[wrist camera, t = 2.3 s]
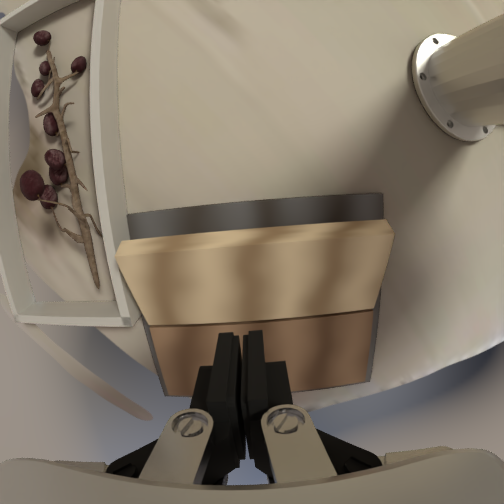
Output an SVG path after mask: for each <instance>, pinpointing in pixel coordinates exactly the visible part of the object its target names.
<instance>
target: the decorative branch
mask: <svg viewBox="0 0 504 504" xmlns="http://www.w3.org/2000/svg"><path fill="white" fill-rule="evenodd" d="M33 39H34V41H35V43H36V44H37V45H40V46H44V45H46V44H48V43H49V42H50V40H51V34H50V33H49V32H48V31H44V30H41V31H38V32H36V33H35V34H34V37H33ZM49 47H50V43H49ZM46 54H47V58H48V61H44V62H42V63H41V65H40V67H39V71H40V73H41V74H42V75H44V76H47V75H49V77H48V82H47V84H46V85H45V86H44V83H43V81H42V80H40V79H37V80H35V81H34V83H33V84H32V87H31V93H32V95H33V96H34V97H38V99H39V98H40V97H41V95H42V94H43V93H44V91H45V90H46V89H47V87H48V86H49V85H50V84H51V83H52V82H53V81H54V96H53V104H52V105H51V106H50V107H49V108H47V109H46V110H44V111H42V112H41V113H39V114H38V115H37V116H36V117H35V118H37V117H39V116H42V115H44V114H46V113H47V114H46V115H45V117H44V121H43V125H44V130H45V132H46V133H47V134H48V135H50V136H55V135H56V137H58V136H59V135H60V136H61V141H62V147H63V151H64V153H63V152H62V151H60V150H56V149H50V150H48V151H47V152H46V153H45V161H46V163H47V164H48V165H49V166H50V168H49V176H50V179H51V181H52V182H53V184H55V185H61V188H66V187H68V188H69V189H70V191H71V193H72V206H73V209H74V210H73V209H72V208H71V207H69V206H67V205H65V204H62V203H58V202H57V193H56V191H55V189H54V188H53V187H52V186H51V185H44V181H43V179H42V177H41V175H40V174H39V173H37V172H36V171H34V170H28V171H26V172H25V173H24V174H23V175H22V176H21V178H20V188H21V191H22V193H23V195H24V196H25V197H26V198H27V199H28V200H31V201H34V200H39V201H40V202H41V204H42V206H43V207H44V208H46V209H51V208H52V211H53V207H54V206H55V205H56V204H59V205H63V206H65V207H68V210H70V211H71V212H72V213H73V214H74V215H75V216H76V217H77V218H78V221H79V225H80V228H81V232H82V236H80V235H77V234H75V233H73V232H71V231H69V230H67V229H66V228H64V229H62V228H61V227H60V225H59V223H58V221H57V219H56V216H55V213H54V211H53V214H54V217H55V219H56V222H57V224H58V226H59V228H60V229H61V230H62V231H63V232H66V233H67V234H68V235H69V236H70V237H72V238H73V239H74V240H75V241H76V242H77V243H84V246H85V250H86V254H87V258H88V261H89V265H90V269H91V272H92V275H93V279H94V282H95V284H96V287H97V288H98V289H99V288H100V284H99V277H98V272H97V266H96V261H95V255H94V249H93V243H92V238H91V233H90V228H89V225H88V222H87V220H86V217H90V218H91V220H92V222H93V224H94V227H95V229H96V231H97V232H98V234H99V235H100V236H101V237H103V236H102V234H101V233H100V231H99V230H98V228H97V226H96V224H95V222H94V220H93V218H92V216H91V214H84V213H83V210H82V206H81V201H80V196H79V190H78V184H80V185H81V186H82V187H83V188H84V189H86V187H85V186H84V185H83V183H82V182H81V181H80V180H79V179H78V178H77V176H76V173H75V168H74V164H73V160H72V156H71V153H80V152H78V151H72V148H71V145H70V141H69V138H68V136H67V132H66V128H65V125H64V121H63V115H64V112H65V109H66V107H67V105H69V104H75V103H71V102H70V103H66V104H65V105H64V107H63V110H62V113H61V114H60V111H59V96H60V94H61V93H62V91H63V90H64V89H65V87H62V88H61V89H60V90H59V87H60V85H61V83H62V82H64V81H65V80H67V79H69V78H70V77H72V76H74V75H76V74H79V73H81V72H82V71H84V69H85V68H86V64H87V63H86V59H85V58H84V57H83V56H80V57H77V58H76V59H75V60H74V61H73V62H72V64H71V70H72V72H73V74H70V75H68V76H65V77H63V78H59V77H58V73H57V69H56V66H55V64H54V59H55V57H54V59H52V55H51V52H50V51H49V49H48V50H47V51H46ZM51 73H52V75H53V76H52V78H51V79H50V74H51ZM49 79H50V81H49ZM38 99H37V100H38ZM66 166H67V167H66ZM67 169H68V171H67ZM68 174H69V178H70V183H71V185H69V184H64V185H62V184H63V183H65V182H66V180H67V177H68ZM86 190H87V189H86Z"/></svg>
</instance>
